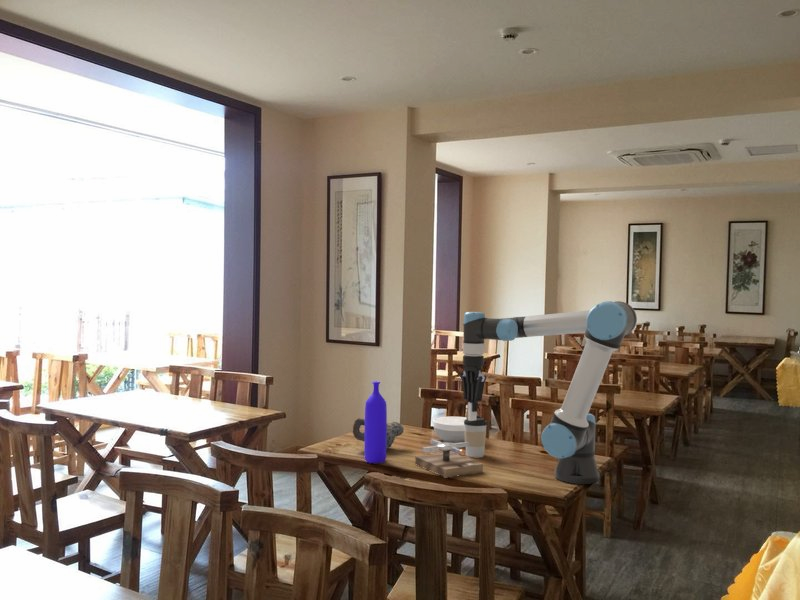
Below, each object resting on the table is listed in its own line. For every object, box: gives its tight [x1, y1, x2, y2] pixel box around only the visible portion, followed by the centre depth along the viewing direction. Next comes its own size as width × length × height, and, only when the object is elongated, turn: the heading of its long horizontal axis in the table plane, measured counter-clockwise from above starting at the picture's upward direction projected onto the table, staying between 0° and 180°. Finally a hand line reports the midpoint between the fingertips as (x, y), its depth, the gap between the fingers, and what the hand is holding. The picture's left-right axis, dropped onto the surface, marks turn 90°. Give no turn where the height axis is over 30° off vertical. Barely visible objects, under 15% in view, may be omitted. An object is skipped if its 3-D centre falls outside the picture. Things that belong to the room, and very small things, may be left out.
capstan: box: [422, 439, 469, 457], centre depth 246 cm, size 21×19×2 cm
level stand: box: [414, 451, 484, 479], centre depth 247 cm, size 20×16×7 cm
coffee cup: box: [464, 415, 488, 458], centre depth 267 cm, size 9×9×15 cm
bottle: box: [363, 380, 388, 464], centre depth 256 cm, size 8×8×30 cm
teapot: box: [352, 417, 405, 450], centre depth 275 cm, size 21×12×15 cm, turn 108°
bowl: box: [432, 415, 468, 443], centre depth 291 cm, size 19×19×9 cm
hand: (472, 420), depth 245 cm, fingers closed
